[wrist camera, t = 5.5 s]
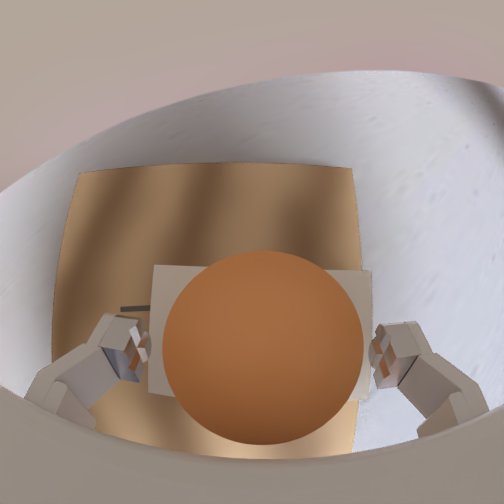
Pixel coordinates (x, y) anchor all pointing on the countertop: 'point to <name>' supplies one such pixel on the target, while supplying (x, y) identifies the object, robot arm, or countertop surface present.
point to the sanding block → (260, 343)
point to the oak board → (194, 254)
